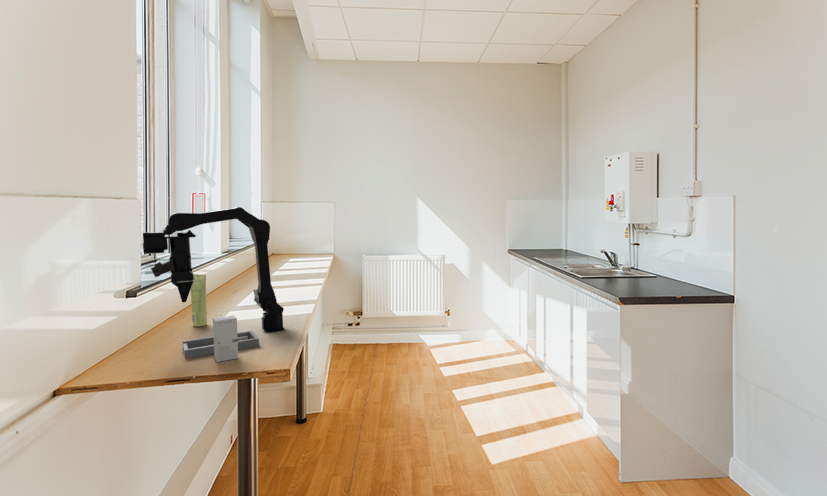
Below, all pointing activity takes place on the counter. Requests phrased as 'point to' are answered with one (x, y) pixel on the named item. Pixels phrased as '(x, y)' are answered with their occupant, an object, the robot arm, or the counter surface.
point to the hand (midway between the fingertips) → (183, 299)
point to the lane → (196, 345)
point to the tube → (199, 300)
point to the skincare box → (225, 338)
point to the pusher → (242, 338)
